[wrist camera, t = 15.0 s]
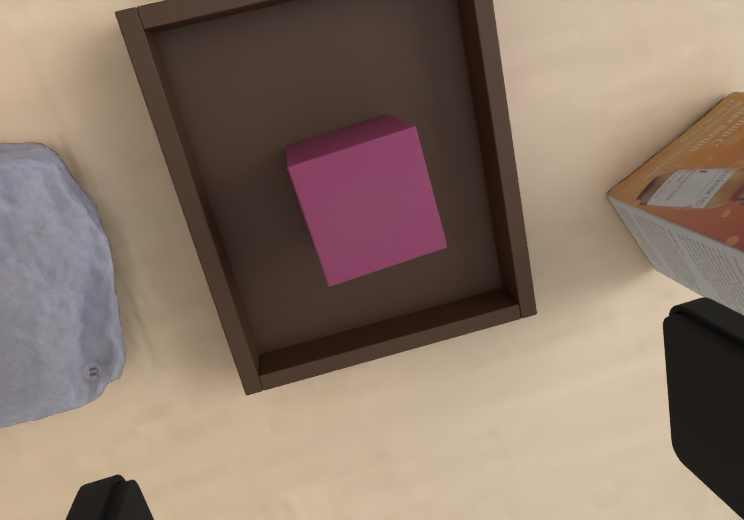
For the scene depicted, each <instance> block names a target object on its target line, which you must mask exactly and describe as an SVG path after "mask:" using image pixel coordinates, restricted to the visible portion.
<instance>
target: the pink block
mask: <svg viewBox="0 0 744 520" xmlns="http://www.w3.org/2000/svg"><path fill="white" fill-rule="evenodd" d="M285 154H286V161H287V169H288V172H289V174H290V177H291V180H292V183H293V186H294V189H295V192H296V195H297V198H298V201H299V203H300V206H301V209H302V212H303V215H304V218H305V221H306V224H307V227H308V229H309V232H310V235H311V238H312V241H313V244H314V247H315V250H316V253H317V255H318V258H319V261H320V264H321V267H322V270H323V273H324V276H325V279H326V281H327V284H328V286H329V287H330V286H333V285H336V284H339V283H342V282H345V281H348V280H351V279H354V278H357V277H360V276H363V275H366V274H369V273H372V272H375V271H378V270H381V269H384V268H387V267H390V266H393V265H396V264H399V263H402V262H405V261H408V260H411V259H414V258H417V257H420V256H423V255H426V254H429V253H432V252H435V251H438V250H441V249H444V248H446V247H447V244H446V240H445V236H444V232H443V229H442V225H441V221H440V217H439V213H438V209H437V206H436V202H435V198H434V194H433V190H432V187H431V183H430V179H429V175H428V171H427V168H426V164H425V160H424V156H423V152H422V149H421V145H420V141H419V137H418V133H417V130H416V127H415V126H414V125H411V124H409V123H407V122H405V121H402V120H400V119H398V118H395V117H393V116H391V115H388V114H385V115H382V116H379V117H376V118H373V119H369V120H366V121H363V122H360V123H357V124H354V125H351V126H348V127H344V128H341V129H338V130H335V131H332V132H329V133H326V134H323V135H319V136H316V137H313V138H310V139H307V140H304V141H301V142H298V143H294V144H291V145H288V146H285Z"/></svg>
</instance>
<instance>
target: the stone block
mask: <svg viewBox="0 0 744 520" xmlns="http://www.w3.org/2000/svg"><path fill="white" fill-rule="evenodd" d="M114 272H115V271H114V267H113V263H112V258H111V252H110V245H109V241H108V238H107V236H106V234H105V232H104V230H103V229H102V227H101V220H100V218H99V216H98V214H97V207H96V206H95V204H94V203H93V202H92V200H91V199H90V198H89V196H88V195H87V194H86V193H85V191H83V190H82V189H81V187H80V186H79V185H78V183H77V182H76V181H75V179H74V178H73V177H72V175H71V174H70V172H69V170H68V168H67V167H66V165H65V164H64V163H63V162H62V160H61V159H60V158H59V156H58V154H57V153H55V152H54V151H53V150H51V149H48V148H47V147H46V146H44V145H42V144H39V143H23V144H0V428H2V427H7V426H12V425H15V424H19V423H23V422H27V421H33V420H39V419H42V418H45V417H48V416H51V415H54V414H58V413H61V412H65V411H68V410H71V409H75V408H79V407H81V406H83V405H85V404H88V403H90V402H92V401H94V400H95V399H97V398H98V397H100V396H101V395H102V393H103V391H104V389H105V387H106V386H107V384H108V383H109V382H112V381H114V380H116V379H118V378H120V377H121V375H122V373H123V367H124V364H125V358H126V354H125V346H124V341H123V334H122V330H121V325H120V319H119V315H118V307H119V303H118V298H117V295H116V291H115V281H114Z"/></svg>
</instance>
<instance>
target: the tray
mask: <svg viewBox="0 0 744 520" xmlns="http://www.w3.org/2000/svg"><path fill="white" fill-rule="evenodd" d="M115 15H116V18H117V21H118V24H119V27H120V29H121V32H122V35H123V38H124V41H125V44H126V47H127V50H128V53H129V56H130V59H131V62H132V64H133V67H134V70H135V73H136V76H137V79H138V82H139V85H140V88H141V91H142V94H143V96H144V99H145V102H146V105H147V108H148V111H149V114H150V117H151V120H152V123H153V126H154V129H155V131H156V134H157V137H158V140H159V143H160V146H161V149H162V152H163V155H164V158H165V161H166V164H167V166H168V169H169V172H170V175H171V178H172V181H173V184H174V187H175V190H176V193H177V196H178V199H179V201H180V204H181V207H182V210H183V213H184V216H185V219H186V222H187V225H188V228H189V231H190V233H191V236H192V239H193V242H194V245H195V248H196V251H197V254H198V257H199V260H200V263H201V266H202V268H203V271H204V274H205V277H206V280H207V283H208V286H209V289H210V292H211V295H212V298H213V301H214V303H215V306H216V309H217V312H218V315H219V318H220V321H221V324H222V327H223V330H224V333H225V335H226V338H227V341H228V344H229V347H230V350H231V353H232V356H233V359H234V362H235V365H236V368H237V370H238V373H239V376H240V379H241V382H242V385H243V388H244V391H245V394H246V395H250V394H253V393H257V392H261V391H263V390H267V389H271V388H274V387H278V386H282V385H285V384H289V383H292V382H296V381H299V380H303V379H307V378H310V377H314V376H317V375H321V374H325V373H328V372H332V371H335V370H339V369H343V368H346V367H350V366H353V365H357V364H360V363H364V362H368V361H371V360H375V359H378V358H382V357H386V356H389V355H393V354H396V353H400V352H403V351H407V350H411V349H414V348H418V347H421V346H425V345H429V344H432V343H436V342H439V341H443V340H447V339H450V338H454V337H457V336H461V335H464V334H468V333H472V332H475V331H479V330H482V329H486V328H490V327H493V326H497V325H500V324H504V323H507V322H511V321H515V320H518V319H521V318H525V317H529V316H532V315H536V314H537V311H536V304H535V297H534V290H533V283H532V276H531V268H530V261H529V254H528V247H527V240H526V233H525V226H524V219H523V212H522V205H521V198H520V191H519V184H518V177H517V170H516V163H515V155H514V148H513V141H512V134H511V127H510V120H509V113H508V106H507V99H506V92H505V85H504V78H503V71H502V64H501V57H500V49H499V42H498V35H497V28H496V21H495V14H494V7H493V0H165V1H160V2H156V3H152V4H147V5H143V6H138V7H137V8H136V7H134V8H130V9H125V10H121V11H116V12H115ZM385 114H388V115H391V116H393V117H395V118H398V119H400V120H402V121H405V122H407V123H409V124H411V125H414V126H415V127H416V130H417V133H418V137H419V141H420V145H421V149H422V152H423V156H424V160H425V164H426V168H427V171H428V175H429V179H430V183H431V187H432V190H433V194H434V198H435V202H436V206H437V209H438V213H439V217H440V221H441V225H442V229H443V232H444V236H445V240H446V244H447V247H446V248H444V249H441V250H438V251H435V252H432V253H429V254H426V255H423V256H420V257H417V258H414V259H411V260H408V261H405V262H402V263H399V264H396V265H393V266H390V267H387V268H384V269H381V270H378V271H375V272H372V273H369V274H366V275H363V276H360V277H357V278H354V279H351V280H348V281H345V282H342V283H339V284H336V285H333V286H330V287H329V286H328V284H327V281H326V279H325V276H324V273H323V270H322V267H321V264H320V261H319V258H318V255H317V253H316V250H315V247H314V244H313V241H312V238H311V235H310V232H309V229H308V227H307V224H306V221H305V218H304V215H303V212H302V209H301V206H300V203H299V201H298V198H297V195H296V192H295V189H294V186H293V183H292V180H291V177H290V174H289V172H288V169H287V161H286V154H285V146H288V145H291V144H294V143H298V142H301V141H304V140H307V139H310V138H313V137H316V136H319V135H323V134H326V133H329V132H332V131H335V130H338V129H341V128H344V127H348V126H351V125H354V124H357V123H360V122H363V121H366V120H369V119H373V118H376V117H379V116H382V115H385Z"/></svg>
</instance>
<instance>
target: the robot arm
mask: <svg viewBox="0 0 744 520" xmlns="http://www.w3.org/2000/svg"><path fill="white" fill-rule="evenodd" d="M663 334H664V347H665V360H666V373H667V387H668V400H669V413H670V426H671V439H672V446H673V449H674V451H675V453H676V455H677V457H678V458H679V460H680V461H681V462H682V463H683V464H684V465H685V466H686V467H687V468H688V469H689V470H690V471H691V472H692V473H693V474H694V475H696V476H697V477H698V478H699V479H700V480H701V481H702V482H703V483H704V484H705V485H706V486H707V487H709V488H710V489H711V490H712V491H713V492H714V493H715V494H716V495H717V496H718V497H719V498H720V499H722V500H723V501H724V502H725V503H726V504H727V505H728V506H729V507H730V508H731V509H732V510H733V511H735V512H736V513H737V514H738V515H739V516H740V517H741V518H742V519H743V520H744V315H742V314H740V313H738V312H736V311H734V310H732V309H730V308H728V307H726V306H724V305H722V304H720V303H718V302H716V301H714V300H712V299H710V298H707V297H704V298H699V299H696V300H693V301H689V302H686V303H683V304H680V305H676V306H674V307H673V308H671V310H670V313H669V316H668V317H666V318H665V319H664V322H663ZM66 520H154V519H153V517H152V514H151V512H150V510H149V508H148V505H147V503H146V501H145V499H144V496H143V494H142V492H141V490H140V487H139V485H138V484H137V482H136V481H135V480H129V481H125V479H124V478H123V477H122V476H121V475H115V476H111V477H108V478H105V479H101V480H98V481H95V482H92V483H88V484H85V485H83V486H81V487H80V489H79V491H78V493H77V495H76V497H75V500H74V502H73V504H72V506H71V509H70V511H69V513H68V515H67V518H66Z"/></svg>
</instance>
